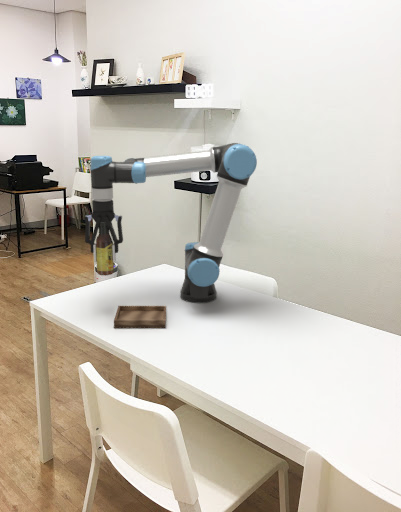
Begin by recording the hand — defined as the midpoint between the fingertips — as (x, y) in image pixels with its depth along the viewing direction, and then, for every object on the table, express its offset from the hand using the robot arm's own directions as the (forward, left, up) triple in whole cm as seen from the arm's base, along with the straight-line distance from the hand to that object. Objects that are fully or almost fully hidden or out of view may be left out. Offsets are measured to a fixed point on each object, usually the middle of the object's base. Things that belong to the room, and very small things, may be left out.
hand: (105, 260), depth 182 cm
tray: (-14, +10, -20) cm, 26 cm away
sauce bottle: (0, 0, -5) cm, 5 cm away
